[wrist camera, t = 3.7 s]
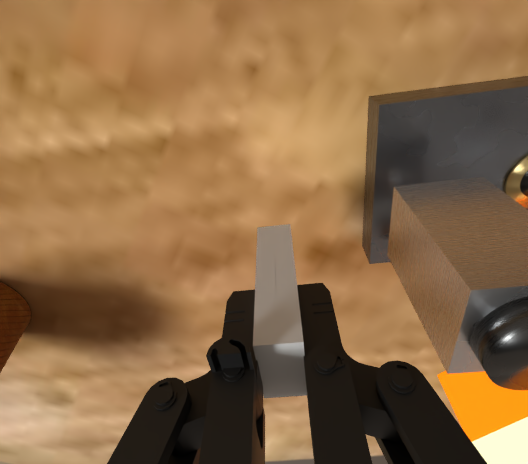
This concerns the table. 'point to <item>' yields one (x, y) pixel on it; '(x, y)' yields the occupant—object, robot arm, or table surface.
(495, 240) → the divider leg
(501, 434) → the orange juice
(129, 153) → the table surface
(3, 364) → the disposable coffee cup
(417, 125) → the plate
